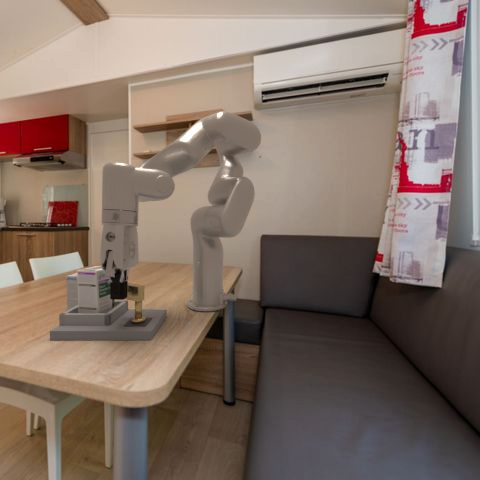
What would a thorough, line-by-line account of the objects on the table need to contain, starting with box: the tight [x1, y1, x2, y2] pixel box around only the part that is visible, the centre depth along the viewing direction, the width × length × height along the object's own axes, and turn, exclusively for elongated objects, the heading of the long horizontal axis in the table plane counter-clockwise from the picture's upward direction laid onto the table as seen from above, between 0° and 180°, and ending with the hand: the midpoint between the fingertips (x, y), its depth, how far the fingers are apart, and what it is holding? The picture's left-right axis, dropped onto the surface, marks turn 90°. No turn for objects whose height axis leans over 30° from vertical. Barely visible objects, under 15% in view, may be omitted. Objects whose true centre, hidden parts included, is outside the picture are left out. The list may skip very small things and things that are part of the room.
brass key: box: [124, 282, 146, 323], centre depth 59 cm, size 3×8×8 cm, turn 65°
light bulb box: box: [65, 272, 78, 311], centre depth 74 cm, size 11×7×11 cm, turn 4°
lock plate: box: [49, 299, 168, 341], centre depth 60 cm, size 22×14×4 cm, turn 93°
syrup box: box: [76, 265, 115, 313], centre depth 61 cm, size 6×6×14 cm
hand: (118, 298), depth 57 cm, fingers closed
